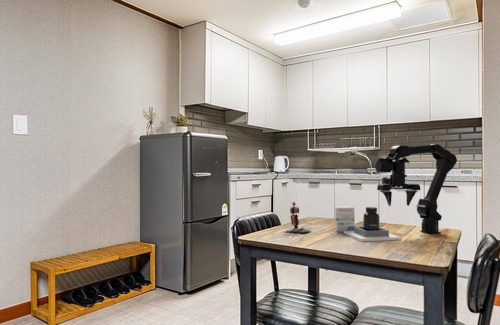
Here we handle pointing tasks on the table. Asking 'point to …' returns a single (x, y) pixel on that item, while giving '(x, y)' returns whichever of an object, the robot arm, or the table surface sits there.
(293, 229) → the statue
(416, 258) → the table surface
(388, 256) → the table surface
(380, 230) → the pocket plate
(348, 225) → the ink box
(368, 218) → the supplement bottle
